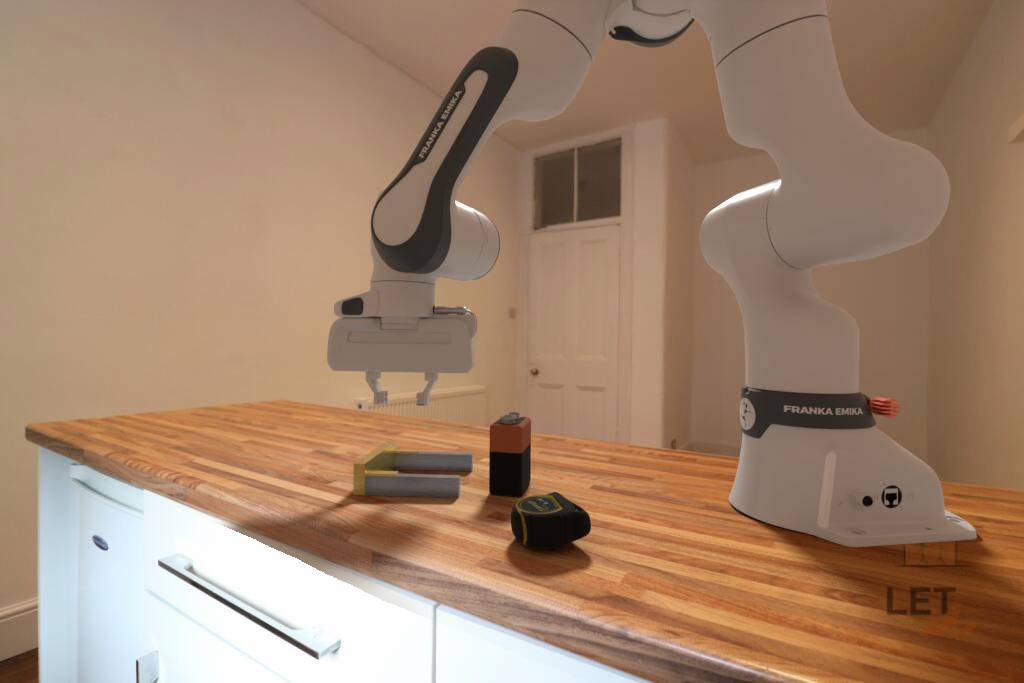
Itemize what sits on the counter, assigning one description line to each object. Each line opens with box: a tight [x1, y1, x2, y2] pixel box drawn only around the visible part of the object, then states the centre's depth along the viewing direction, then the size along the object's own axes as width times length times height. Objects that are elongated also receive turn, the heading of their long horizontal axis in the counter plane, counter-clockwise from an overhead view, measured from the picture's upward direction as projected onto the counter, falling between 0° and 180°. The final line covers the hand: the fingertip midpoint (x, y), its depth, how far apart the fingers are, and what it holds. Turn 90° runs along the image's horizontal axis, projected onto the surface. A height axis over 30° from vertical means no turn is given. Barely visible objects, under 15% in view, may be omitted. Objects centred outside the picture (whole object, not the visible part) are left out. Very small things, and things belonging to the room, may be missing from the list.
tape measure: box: [510, 491, 592, 550], centre depth 44 cm, size 7×7×4 cm
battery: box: [488, 411, 532, 498], centre depth 60 cm, size 4×7×10 cm, turn 167°
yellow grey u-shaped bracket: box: [352, 440, 474, 499], centre depth 63 cm, size 14×12×4 cm
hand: (401, 404), depth 63 cm, fingers open, 5 cm apart
